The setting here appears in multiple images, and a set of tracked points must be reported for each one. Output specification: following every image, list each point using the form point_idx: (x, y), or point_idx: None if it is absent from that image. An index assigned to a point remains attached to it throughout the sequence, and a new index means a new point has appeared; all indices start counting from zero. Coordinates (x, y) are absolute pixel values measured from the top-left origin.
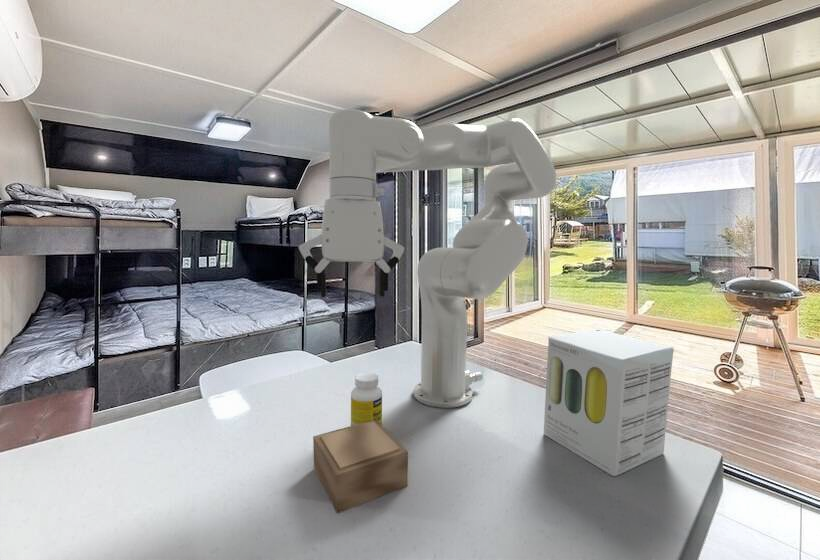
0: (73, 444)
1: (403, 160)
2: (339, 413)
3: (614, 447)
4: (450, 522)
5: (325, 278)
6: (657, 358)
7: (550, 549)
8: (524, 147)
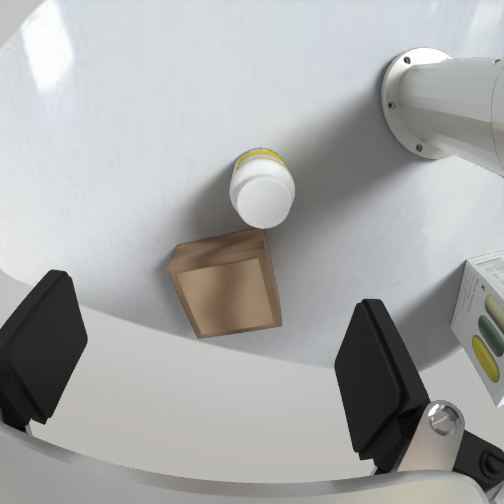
0: None
1: None
2: (221, 99)
3: (461, 344)
4: (297, 341)
5: (57, 403)
6: None
7: None
8: None
